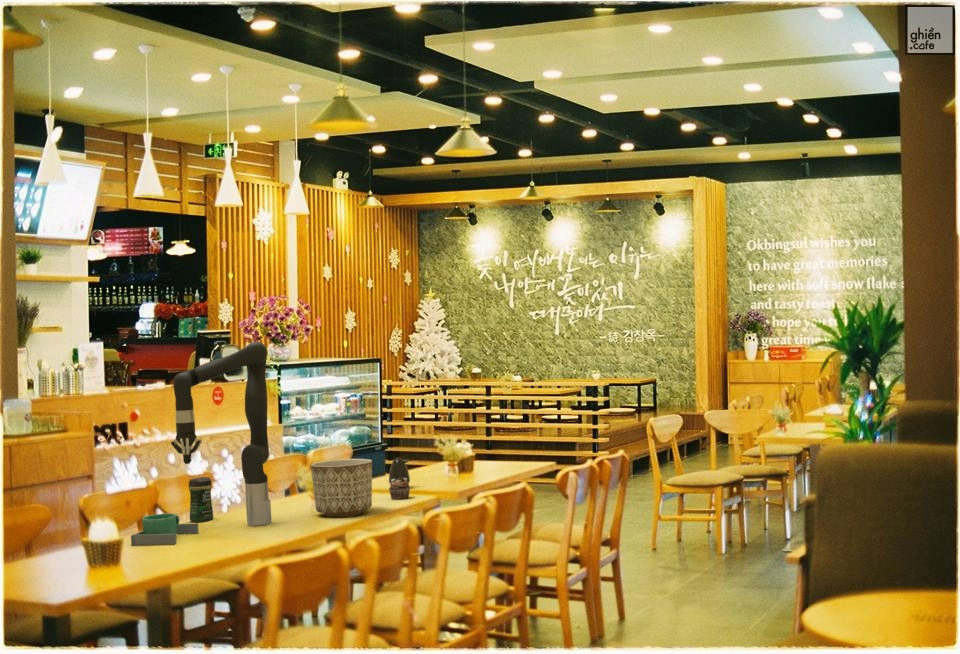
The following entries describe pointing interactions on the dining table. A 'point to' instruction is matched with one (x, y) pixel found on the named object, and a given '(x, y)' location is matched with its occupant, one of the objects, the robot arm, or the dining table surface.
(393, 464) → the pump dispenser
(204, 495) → the coffee jar
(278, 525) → the dining table surface
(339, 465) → the planter
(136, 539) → the tray
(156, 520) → the mug
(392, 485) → the cupcake
